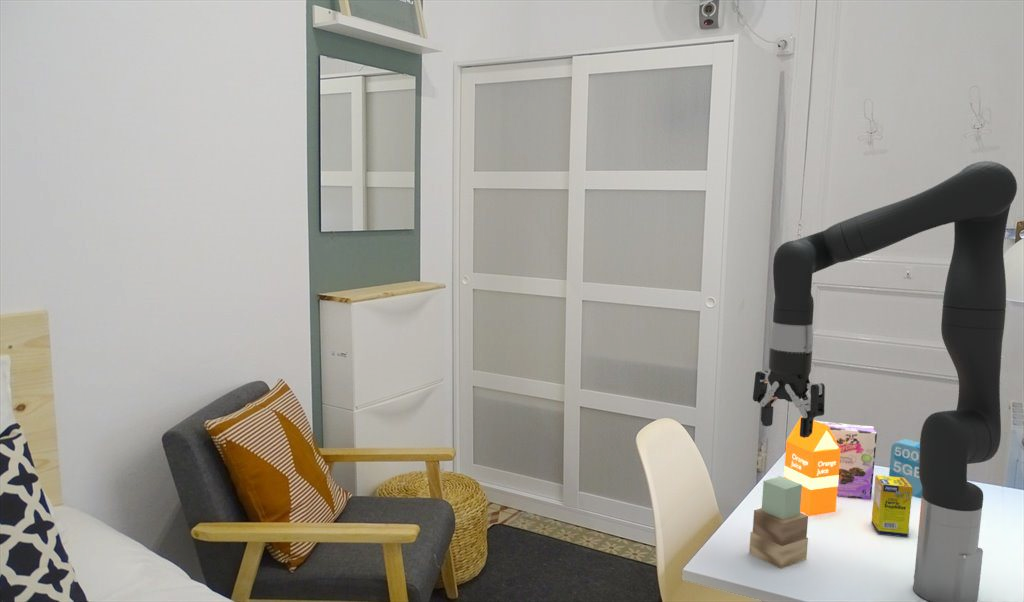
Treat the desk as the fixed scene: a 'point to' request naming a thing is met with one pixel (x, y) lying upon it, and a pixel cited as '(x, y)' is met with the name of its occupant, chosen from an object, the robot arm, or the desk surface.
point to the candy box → (855, 458)
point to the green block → (781, 497)
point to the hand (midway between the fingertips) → (785, 431)
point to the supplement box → (891, 505)
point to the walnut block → (780, 527)
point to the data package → (906, 463)
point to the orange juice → (814, 468)
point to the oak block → (778, 551)
